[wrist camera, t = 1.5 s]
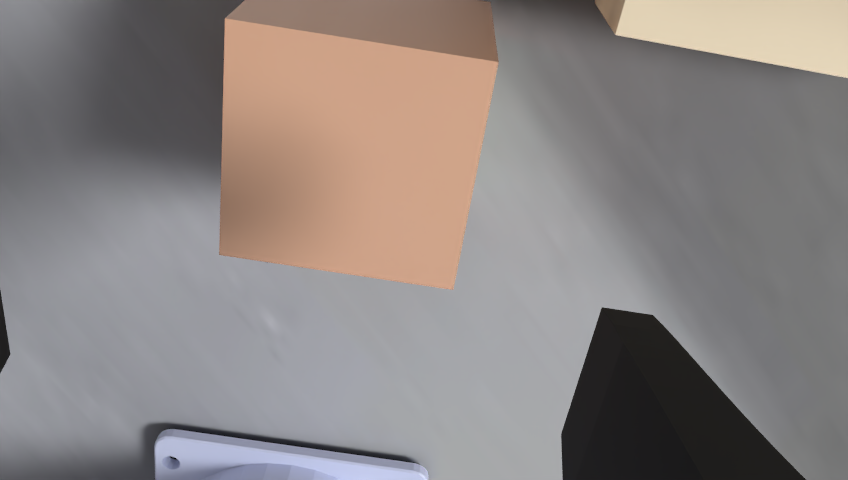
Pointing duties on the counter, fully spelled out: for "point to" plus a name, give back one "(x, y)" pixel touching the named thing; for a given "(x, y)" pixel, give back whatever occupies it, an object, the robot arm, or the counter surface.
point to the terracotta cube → (354, 133)
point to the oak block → (742, 29)
